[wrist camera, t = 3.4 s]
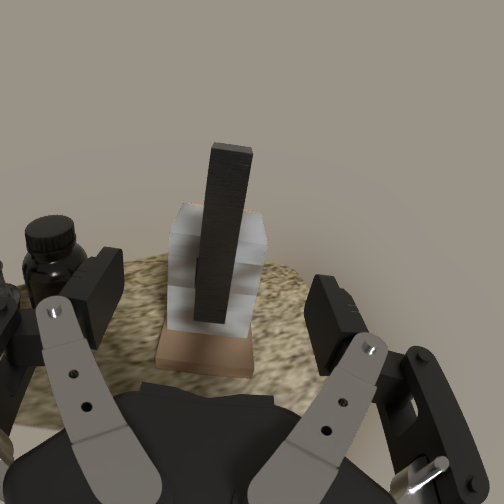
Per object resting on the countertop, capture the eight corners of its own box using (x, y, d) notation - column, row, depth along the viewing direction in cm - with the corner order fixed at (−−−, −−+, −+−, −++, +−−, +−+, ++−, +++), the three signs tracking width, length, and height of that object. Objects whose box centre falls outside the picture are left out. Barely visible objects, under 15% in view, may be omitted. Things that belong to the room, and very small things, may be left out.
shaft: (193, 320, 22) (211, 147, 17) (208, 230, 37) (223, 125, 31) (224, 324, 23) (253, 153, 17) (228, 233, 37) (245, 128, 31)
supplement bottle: (32, 322, 26) (8, 222, 21) (80, 300, 32) (68, 204, 26) (56, 361, 23) (24, 252, 18) (110, 333, 28) (97, 227, 23)
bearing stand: (156, 367, 26) (152, 255, 20) (178, 277, 40) (184, 189, 34) (251, 378, 27) (279, 271, 22) (245, 285, 41) (262, 199, 35)
